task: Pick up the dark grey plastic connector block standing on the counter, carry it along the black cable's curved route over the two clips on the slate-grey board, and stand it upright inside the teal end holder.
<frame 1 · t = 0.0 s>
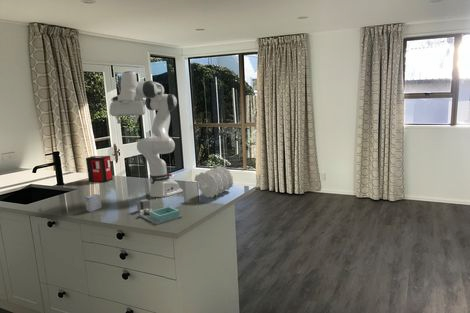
hand: (126, 123, 200), 52 cm above the countertop, tool tilted 20°, fingers open, 8 cm apart
end holder: (164, 213, 196), point 2 cm above the countertop
cleaning product box: (100, 180, 299), on the countertop
medicine box: (94, 210, 220), on the countertop
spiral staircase: (216, 194, 238), on the countertop
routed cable: (151, 212, 202), point 1 cm above the countertop
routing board: (160, 216, 199), on the countertop
connector block: (143, 210, 212), on the countertop
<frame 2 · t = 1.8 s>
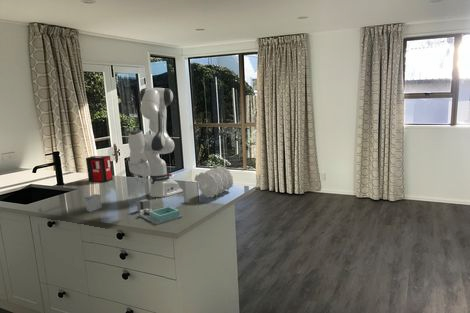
hand: (140, 182, 209), 17 cm above the countertop, tool pointing down, fingers open, 8 cm apart
nothing on the countertop moved.
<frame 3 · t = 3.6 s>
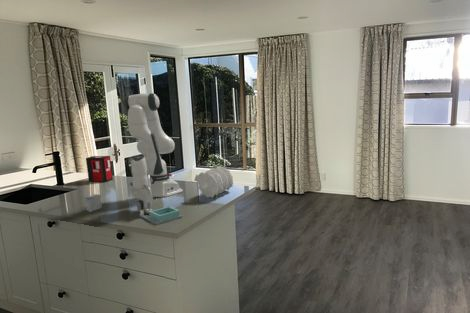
hand: (143, 206, 212), 2 cm above the countertop, tool pointing down, fingers closed on connector block, 4 cm apart
connector block: (143, 210, 212), on the countertop, touching gripper
everything else where it was.
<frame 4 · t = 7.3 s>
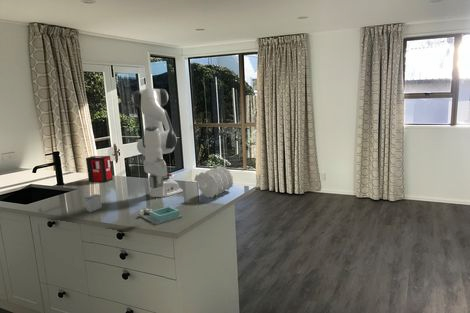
hand: (156, 182, 194), 20 cm above the countertop, tool pointing down, fingers closed on connector block, 4 cm apart
connector block: (156, 186, 195), point 18 cm above the countertop, touching gripper
everything else where it was.
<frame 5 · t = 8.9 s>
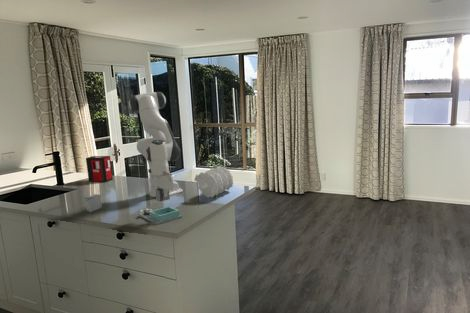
hand: (162, 195, 194), 13 cm above the countertop, tool pointing down, fingers closed on connector block, 4 cm apart
connector block: (163, 199, 195), point 10 cm above the countertop, touching gripper
everything else where it was.
when the fingers open (5 cm above the countertop, at t = 10.6 s): connector block drops 2 cm, resting on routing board.
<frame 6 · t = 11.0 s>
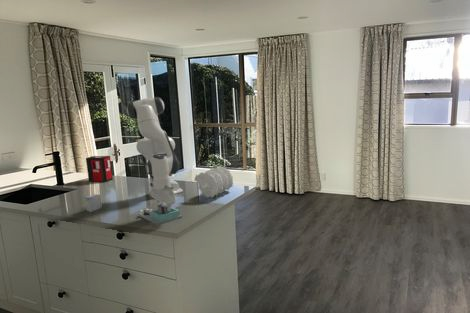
hand: (164, 209, 196), 5 cm above the countertop, tool pointing down, fingers open, 8 cm apart
connector block: (164, 216, 197), point 1 cm above the countertop, touching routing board
everything else where it was.
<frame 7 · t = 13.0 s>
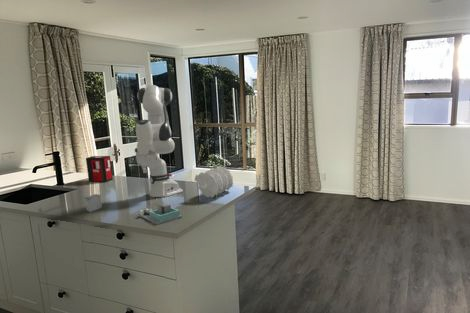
hand: (149, 174, 200), 23 cm above the countertop, tool pointing down, fingers open, 8 cm apart
nothing on the countertop moved.
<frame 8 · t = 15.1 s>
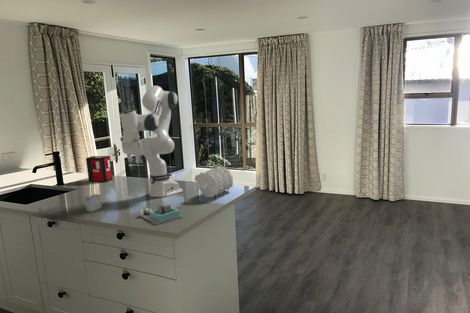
hand: (133, 162, 208), 29 cm above the countertop, tool pointing down, fingers open, 8 cm apart
nothing on the countertop moved.
at the end: connector block inside the target area (0.1 cm from its centre), point 1.0 cm above the countertop; connector block tilted 0°; the gripper is holding nothing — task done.
